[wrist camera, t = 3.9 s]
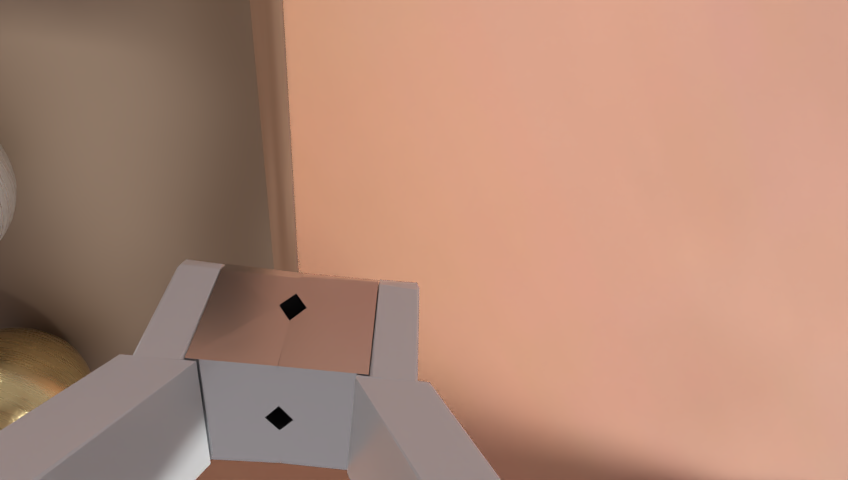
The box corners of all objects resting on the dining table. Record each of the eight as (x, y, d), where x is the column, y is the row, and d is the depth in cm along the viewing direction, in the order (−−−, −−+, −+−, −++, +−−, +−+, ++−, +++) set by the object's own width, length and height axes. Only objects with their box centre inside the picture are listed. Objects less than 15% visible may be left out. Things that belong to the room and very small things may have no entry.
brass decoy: (100, 302, 15) (22, 426, 12) (131, 394, 17) (70, 518, 14) (-48, 291, 15) (-162, 414, 12) (1, 385, 17) (-85, 508, 14)
